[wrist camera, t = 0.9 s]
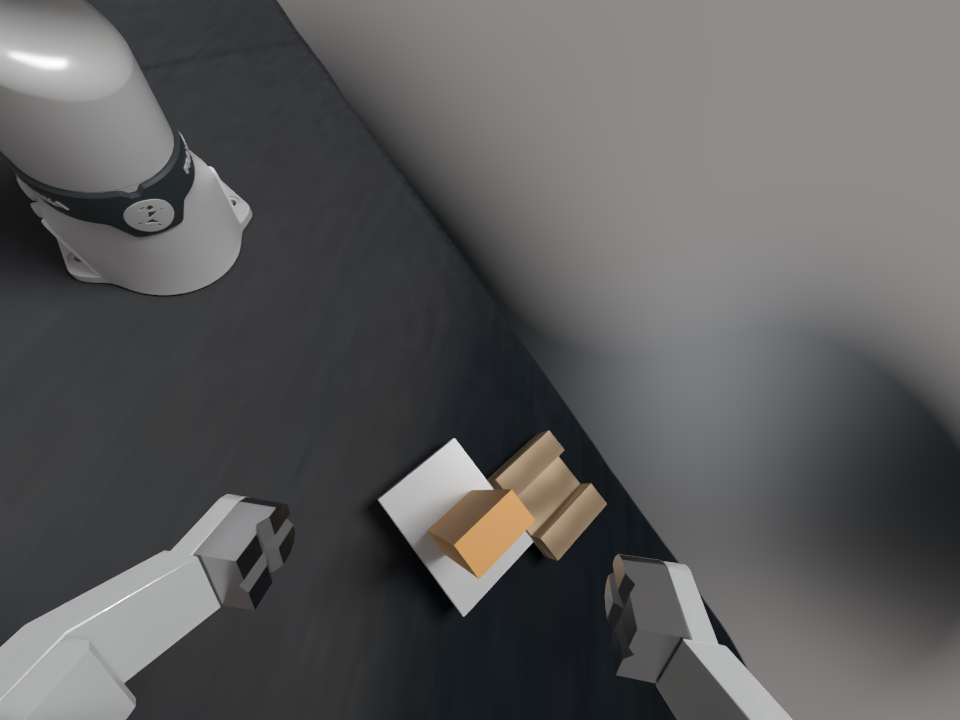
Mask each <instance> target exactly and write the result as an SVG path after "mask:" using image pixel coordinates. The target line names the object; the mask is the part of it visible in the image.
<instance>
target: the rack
mask: <svg viewBox="0 0 960 720" xmlns="http://www.w3.org/2000/svg"><path fill="white" fill-rule="evenodd" d="M563 451H564V449H563V447H562V446H561V445H560V444H559V442H558V441H557V440H556V438H555V437H554V436H553V435H552V433H551V432H550V431H549V430H548V431H545V432H542V433H539V434H537V435H536V436H534V437H533V438H532V439H531V440H530V441H529V442H528V443H527V444H526V445H525V446H523V447H522V448H521V449H520V450H519V451H518V452H517V453H516V454H515V455H514V456H513V457H511V458H510V459H509V460H508V461H507V462H506V463H505V464H504V465H503V466H502V467H500V468H499V469H498V470H497V471H496V472H495V473H494V474H493V475H492V476H491V477H490V478H488V479H487V481H488V482H489V484H490V485H491V486H492V488H493V489H494V490H501V489H512V490H513V491H514V493H515V494H516V495H517V497H518V498H519V499H520V501H521V502H522V503H523V505H524V506H525V507H526V508H527V510H528V511H529V512H530V514H531V515H532V516H533V518H534V519H535V521H534V522H533V523H532V524H531V526H530V527H529V528H528V529H527V530H526V532H527V534H528V535H529V536H530V538H531V539H532V540H533V541H534V544H535V545H536V546H537V547H538V549H539V550H540V551H541V553H542V554H543V555H544V556H546V557H548V558H551V559H554V560H557V561H558V560H559V559H560V558H561V557H562V555H563V554H564V553H565V552H566V551H567V550H568V548H569V547H570V546H571V545H572V544H573V543H574V542H575V540H576V539H577V538H578V537H579V536H580V535H581V533H582V532H583V531H584V530H585V529H586V528H587V526H588V525H589V524H590V523H591V522H592V521H593V520H594V518H595V517H596V516H597V515H598V514H599V513H600V511H601V510H602V509H603V508H604V507H605V506H606V504H607V503H606V502H605V501H604V499H603V498H602V497H601V496H600V494H599V493H598V492H597V491H596V489H595V488H594V487H593V486H592V484H580V483H579V482H578V481H577V479H576V478H575V477H574V476H573V474H572V473H571V472H570V471H569V469H568V468H567V467H566V465H565V464H564V463H563V462H562V460H561V459H560V458H559V455H560V454H561V453H562V452H563Z"/></svg>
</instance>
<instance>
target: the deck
mask: <svg viewBox="0 0 960 720" xmlns="http://www.w3.org/2000/svg"><path fill="white" fill-rule="evenodd" d="M471 490H494V489H493V488H492V486H491V485H490V484H489V482H488V481H487V480H486V478H485V477H484V476H483V474H482V473H481V472H480V471H479V469H478V468H477V467H476V465H475V464H474V463H473V461H472V460H471V459H470V457H469V456H468V455H467V453H466V452H465V451H464V450H463V448H462V447H461V446H460V444H459V443H458V442H457V440H456V439H455V438H453V439H452V440H450V441H448V442H447V443H445V444H444V445H443V446H442V447H440V448H439V449H438V450H437V451H435V452H434V453H433V454H432V455H431V456H429V457H428V458H427V459H426V460H424V461H423V462H422V463H421V464H419V465H418V466H417V467H416V468H414V469H413V470H412V471H411V472H410V473H408V474H407V475H406V476H405V477H403V478H402V479H401V480H400V481H398V482H397V483H396V484H395V485H393V486H392V487H391V488H390V489H388V490H387V491H386V492H385V493H384V494H382V495H381V496H380V497H379V498H377V500H378V502H379V503H380V505H381V506H382V507H383V509H384V510H385V511H386V513H387V514H388V515H389V517H390V518H391V520H392V521H393V522H394V524H395V525H396V526H397V528H398V529H399V531H400V532H401V533H402V535H403V536H404V537H405V539H406V540H407V542H408V543H409V544H410V546H411V547H412V548H413V550H414V551H415V552H416V554H417V555H418V557H419V558H420V559H421V561H422V562H423V563H424V565H425V566H426V568H427V569H428V570H429V572H430V573H431V574H432V576H433V577H434V579H435V580H436V581H437V583H438V584H439V585H440V587H441V588H442V590H443V591H444V592H445V594H446V595H447V596H448V598H449V599H450V600H451V602H452V603H453V605H454V606H455V607H456V608H457V610H458V611H459V612H460V613H461V614H462V615H463V617H464V616H465V615H466V614H467V613H468V612H469V611H470V610H471V609H472V608H473V607H474V606H475V605H476V603H477V602H478V601H479V600H480V599H481V598H482V597H483V596H484V595H485V594H486V593H487V592H488V590H489V589H490V588H491V587H492V586H493V585H494V584H495V583H496V582H497V581H498V580H499V579H500V577H501V576H502V575H503V574H504V573H505V572H506V571H507V570H508V569H509V568H510V567H511V566H512V564H513V563H514V562H515V561H516V560H517V559H518V558H519V557H520V556H521V555H522V554H523V553H524V552H525V550H526V549H527V548H528V547H529V546H530V545H531V544H532V543H533V542H534V541H533V540H532V539H531V538H530V536H529V535H528V534H527V532H526V531H525V532H524V533H523V534H522V535H521V536H520V537H519V538H518V539H517V540H516V541H515V542H514V543H513V544H512V546H511V547H510V548H509V549H508V550H507V551H506V552H505V553H504V554H503V555H502V556H501V557H500V558H499V559H498V560H497V561H496V562H495V563H494V564H493V565H492V567H491V568H490V569H489V570H488V571H487V572H486V573H485V574H484V575H483V576H482V577H481V578H480V579H478V578H477V577H475V576H474V575H472V574H471V573H470V572H468V571H467V570H466V569H464V568H463V567H461V566H460V565H459V564H457V563H456V562H454V561H453V560H452V559H450V558H449V557H448V556H446V555H445V554H444V552H443V551H442V550H441V548H440V547H439V546H438V544H437V543H436V542H435V540H434V539H433V537H432V536H431V535H430V533H429V532H428V531H427V530H428V529H429V528H431V527H432V526H433V525H434V524H435V523H436V522H437V521H438V520H439V519H440V518H442V517H443V516H444V515H445V514H446V513H447V512H448V511H449V510H450V509H451V508H453V507H454V506H455V505H456V504H457V503H458V502H459V501H460V500H461V499H462V498H464V497H465V496H466V495H467V494H468V493H469V492H470V491H471Z"/></svg>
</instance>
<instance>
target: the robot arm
mask: <svg viewBox="0 0 960 720" xmlns="http://www.w3.org/2000/svg"><path fill="white" fill-rule="evenodd" d="M0 153H1V155H2V157H3V159H4V161H5V163H6V164H7V165H8V167H9V168H10V169H11V170H12V171H13V172H14V173H15V175H16V176H17V182H18V184H19V185H20V187H21V188H22V190H23V191H24V192H25V194H26V195H27V196H28V197H29V198H30V199H32V200H33V201H38V202H34V203H31V207H32V209H33V211H34V212H35V213H36V214H37V215H38V216H39V217H40V218H43V219H42V220H41V222H42V223H43V225H44V226H45V227H46V228H47V229H48V230H49V231H50V232H51V233H52V234H53V235H54V236H55V237H56V238H57V241H58V244H59V247H60V250H61V253H62V256H63V259H64V261H65V264H66V267H67V270H68V271H69V273H70V274H71V275H72V276H73V277H74V278H75V279H77V280H80V281H83V282H93V283H111V284H115V285H119V286H122V287H124V288H127V289H130V290H133V291H136V292H140V293H145V294H152V295H175V294H182V293H187V292H191V291H194V290H197V289H200V288H203V287H205V286H207V285H209V284H211V283H213V282H214V281H216V280H217V279H219V278H220V277H222V276H223V275H224V274H225V273H226V272H227V271H228V270H229V269H230V268H231V266H232V265H233V264H234V262H235V260H236V259H237V257H238V254H239V251H240V247H241V238H242V232H243V230H244V228H245V227H246V226H247V224H248V223H249V221H250V220H251V217H252V210H251V209H250V207H249V205H248V204H247V203H246V202H245V201H244V200H243V199H241V198H240V197H239V196H238V195H237V194H236V193H235V192H234V191H232V190H231V189H230V188H229V187H228V186H227V185H226V184H225V183H223V182H222V181H221V180H220V178H219V176H218V174H217V173H216V171H215V170H214V168H213V167H210V166H207V165H206V164H205V163H204V162H203V161H202V160H201V159H200V158H199V157H197V156H196V155H195V154H194V153H192V152H191V151H190V150H189V149H188V146H187V144H186V142H185V140H184V138H183V136H182V135H181V133H179V131H178V130H177V128H176V126H175V125H174V123H173V122H172V120H171V119H170V118H169V117H168V116H167V114H166V113H165V112H163V111H162V110H161V108H160V106H159V104H158V102H157V100H156V98H155V97H154V95H153V93H152V91H151V89H150V87H149V85H148V83H147V81H146V79H145V77H144V75H143V73H142V71H141V69H140V68H139V66H138V64H137V62H136V60H135V58H134V56H133V54H132V52H131V50H130V48H129V46H128V44H127V43H126V41H125V40H124V38H123V37H122V36H121V34H120V33H119V32H118V31H117V30H116V29H115V27H114V26H113V25H112V24H111V23H110V22H109V21H108V20H107V19H106V18H105V17H104V16H103V15H102V14H101V13H100V12H98V11H97V10H96V9H95V8H94V7H93V6H92V5H91V4H89V3H88V2H87V1H86V0H0ZM233 204H236V205H234V206H233ZM79 260H81V261H80V262H78V261H79ZM289 514H290V511H289V508H288V505H287V504H283V503H278V502H272V501H266V500H260V499H255V498H249V497H244V496H237V495H231V494H227V495H225V496H223V497H221V498H220V499H219V500H218V501H217V502H216V503H215V504H214V505H213V506H212V507H211V508H210V509H209V510H208V511H207V512H206V514H205V515H204V516H203V517H202V518H201V519H200V520H199V521H198V522H197V523H196V524H195V525H194V526H193V527H192V528H191V530H190V531H189V532H188V533H187V534H186V535H185V536H184V537H183V538H182V539H181V540H180V541H179V542H178V543H177V545H176V546H175V547H174V548H173V549H172V550H171V551H163V552H161V553H159V554H157V555H155V556H153V557H151V558H149V559H148V560H146V561H144V562H142V563H140V564H138V565H136V566H134V567H133V568H131V569H129V570H127V571H125V572H123V573H121V574H119V575H118V576H116V577H114V578H112V579H110V580H108V581H106V582H104V583H103V584H101V585H99V586H97V587H95V588H93V589H91V590H89V591H88V592H86V593H84V594H82V595H80V596H78V597H76V598H75V599H73V600H71V601H69V602H67V603H65V604H63V605H61V606H60V607H58V608H56V609H54V610H52V611H50V612H48V613H46V614H45V615H43V616H41V617H39V618H37V619H35V620H33V621H31V622H30V623H28V624H26V625H24V626H23V627H22V628H21V629H20V630H19V631H18V632H17V633H15V634H14V635H13V636H12V637H11V638H10V639H9V640H8V641H7V642H6V643H4V644H3V645H2V646H1V647H0V720H126V719H127V718H128V716H129V715H130V714H131V712H132V711H133V709H134V708H135V707H136V698H135V697H134V695H133V694H132V693H131V692H130V690H129V689H128V688H127V687H126V686H125V684H124V683H125V682H126V681H127V680H129V679H130V678H131V677H133V676H134V675H135V674H136V673H138V672H139V671H140V670H141V669H143V668H144V667H145V666H146V665H148V664H149V663H150V662H152V661H153V660H154V659H155V658H157V657H158V656H159V655H160V654H162V653H163V652H164V651H165V650H167V649H168V648H169V647H171V646H172V645H173V644H174V643H176V642H177V641H178V640H179V639H181V638H182V637H183V636H184V635H186V634H187V633H188V632H190V631H191V630H192V629H193V628H195V627H196V626H197V625H198V624H200V623H201V622H202V621H203V620H205V619H206V618H207V617H209V616H210V615H211V614H212V613H214V612H215V611H216V610H217V609H219V608H220V605H226V606H232V607H239V608H246V609H253V610H255V609H256V607H257V606H258V604H259V603H260V601H261V599H262V598H263V596H264V595H265V593H266V591H267V590H268V588H269V587H270V585H271V583H272V572H273V571H274V570H276V569H277V568H279V567H280V566H282V565H283V564H284V562H285V561H286V559H287V557H288V556H289V554H290V552H291V549H292V546H293V543H294V536H295V531H294V527H293V525H292V524H291V523H290V522H289V521H288V520H287V517H288V516H289ZM613 567H614V573H612V574H610V575H609V576H608V579H607V582H606V588H605V607H606V614H607V619H608V621H609V622H610V623H611V625H612V626H613V628H614V629H615V630H614V633H613V635H612V638H611V640H610V641H611V647H612V653H613V660H614V666H615V672H616V675H619V676H624V677H628V678H633V679H638V680H643V681H647V682H652V683H657V685H656V687H657V688H658V690H659V691H660V693H661V695H662V696H663V698H664V699H665V701H666V703H667V704H668V706H669V708H670V709H671V711H672V712H673V714H674V716H675V717H676V719H677V720H792V718H791V717H790V716H789V715H788V714H787V713H786V712H785V711H784V710H783V708H781V706H780V705H779V704H778V703H777V702H776V701H775V700H774V698H773V697H772V696H771V695H770V694H769V693H768V692H767V691H766V690H765V689H764V687H763V686H762V685H761V684H760V683H759V682H758V681H757V680H756V679H755V678H754V676H753V675H752V674H751V673H750V672H749V671H748V670H747V669H746V668H745V666H744V665H743V664H742V663H741V662H740V661H739V660H738V659H737V658H736V657H735V655H734V654H733V653H732V652H731V651H730V650H729V649H728V648H727V647H726V646H723V645H719V644H718V642H717V639H716V637H715V634H714V631H713V629H712V626H711V624H710V621H709V618H708V616H707V613H706V610H705V608H704V605H703V602H702V600H701V597H700V595H699V592H698V589H697V587H696V584H695V582H694V579H693V576H692V574H691V571H690V569H689V568H688V567H687V566H686V565H684V564H680V563H672V562H665V561H661V560H656V559H649V558H641V557H634V556H627V555H620V554H618V555H617V556H616V557H615V559H614V562H613Z"/></svg>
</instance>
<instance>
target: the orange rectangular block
mask: <svg viewBox="0 0 960 720" xmlns="http://www.w3.org/2000/svg"><path fill="white" fill-rule="evenodd" d="M534 521H535V519H534V518H533V516H532V515H531V514H530V512H529V511H528V510H527V508H526V507H525V506H524V505H523V503H522V502H521V501H520V499H519V498H518V497H517V495H516V494H515V493H514V491H513V490H512V489H501V490H471V491H470V492H469V493H468V494H467V495H466V496H465V497H464V498H462V499H461V500H460V501H459V502H458V503H457V504H456V505H455V506H454V507H453V508H451V509H450V510H449V511H448V512H447V513H446V514H445V515H444V516H443V517H442V518H440V519H439V520H438V521H437V522H436V523H435V524H434V525H433V526H432V527H431V528H429V529H428V530H427V531H428V532H429V533H430V535H431V536H432V537H433V539H434V540H435V542H436V543H437V544H438V546H439V547H440V548H441V550H442V551H443V552H444V554H445V555H446V556H448V557H449V558H450V559H452V560H453V561H454V562H456V563H457V564H459V565H460V566H461V567H463V568H464V569H466V570H467V571H468V572H470V573H471V574H472V575H474V576H475V577H477V578H478V579H480V578H481V577H482V576H483V575H484V574H485V573H486V572H487V571H488V570H489V569H490V568H491V567H492V565H493V564H494V563H495V562H496V561H497V560H498V559H499V558H500V557H501V556H502V555H503V554H504V553H505V552H506V551H507V550H508V549H509V548H510V547H511V546H512V544H513V543H514V542H515V541H516V540H517V539H518V538H519V537H520V536H521V535H522V534H523V533H524V532H525V531H526V530H527V529H528V528H529V527H530V526H531V524H532V523H533V522H534Z"/></svg>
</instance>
